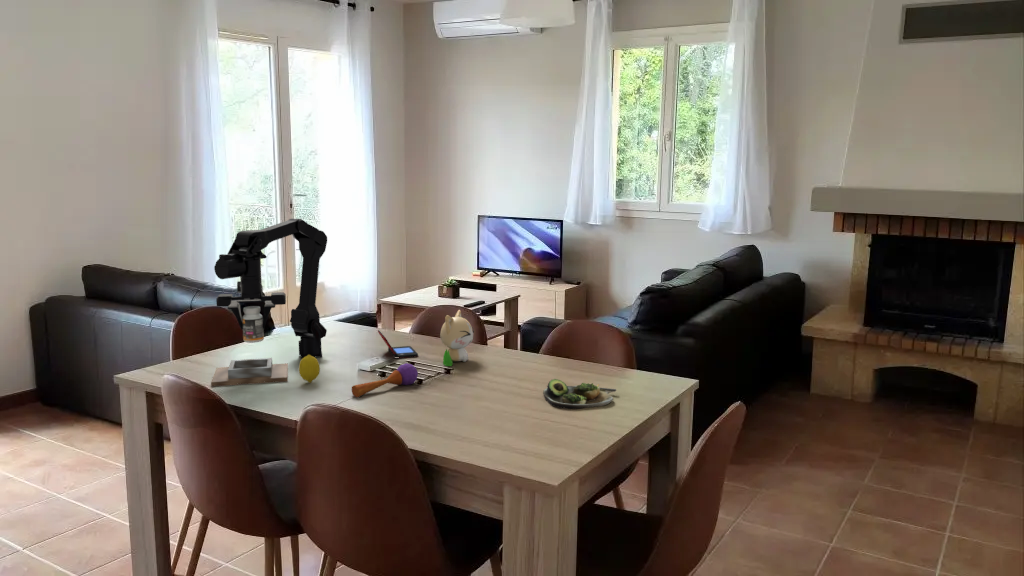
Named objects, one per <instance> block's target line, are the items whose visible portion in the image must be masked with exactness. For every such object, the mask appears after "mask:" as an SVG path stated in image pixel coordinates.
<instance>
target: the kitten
mask: <svg viewBox="0 0 1024 576" xmlns="http://www.w3.org/2000/svg"><path fill="white" fill-rule="evenodd" d="M444 320H445V322H444V323H443V324H442V325H441V329H440V335H439V336H440V340H441V343H442V344H443V345H444V346H445V347H447V348H446V349H445V351H444V354H443V359H442V364H443V366H445V367H452V366H453V362H461V361H462V362H463V363H466V362H467V361H468V360H469V353H468V352H467V350H466V348H467V347H468V346H469V345H470V344H471V343H472V341H473V338H474V333H475V331H474V328H473V327H472V325H471V323H470V322H469V321H468V320H467V319H466V318H465V317H462V311H461V309H458V310H457V312H455V316H452V317H451V316H450V315H448V314H447V315H446V316H445V318H444Z"/></svg>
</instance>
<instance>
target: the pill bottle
mask: <svg viewBox="0 0 1024 576" xmlns="http://www.w3.org/2000/svg"><path fill="white" fill-rule="evenodd" d="M242 311H243V313H244V314H243V315H242V323H243V330H242V339H243V342H245V343H247V344H249V343H251V344H253V343H254V344H255V343H261V342H263V341H264V340H265V334H264V332H265V331H264V329H263V317H264V316H263V315H262V314H261V313H260V312H261V311H262V310H261V306H259V305H250V306H249V305H248V306H245V307H243V309H242Z"/></svg>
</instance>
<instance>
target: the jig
mask: <svg viewBox="0 0 1024 576" xmlns="http://www.w3.org/2000/svg"><path fill="white" fill-rule="evenodd" d="M288 375H289V363H273V358H272V357H264V358H249V359H248V358H246V359H245V358H244V359H231V360H230V362H229V366H222V367H221V366H219V367H216V368H215V370H214V373H213V376H212V379H211V381H210V386H211V387H223V386H226V387H227V386H239V385H240V386H241V385H252V384H253V385H255V384H268V383H269V384H270V383H282V382H283V383H284V382H288V377H289V376H288Z"/></svg>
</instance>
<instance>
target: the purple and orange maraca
mask: <svg viewBox="0 0 1024 576" xmlns="http://www.w3.org/2000/svg"><path fill="white" fill-rule="evenodd" d="M418 373H419V371H418V369H417V368H416V367H415V366H414V365H413V364H411V363H407V362H406V363H403V364H401V365H399V366H398V367H397V369H395V370H393V371H392V372H391V373H390V374H389V376H388V377H387V378H385V379H380V380H375V381H369V382H365V383H360V384H355V385H354V384H353V385H352V386H351V393H352V396H353V397H355V398H360V397H361V396H364V395H366V394H369V393H370V392H371V391H374V390H376V389H378V388H380V387H382V386H384V385H386V384H389V385H397V386H400V385H403V386H410V385H412V384H414V383H416V381H417V380H418Z"/></svg>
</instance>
